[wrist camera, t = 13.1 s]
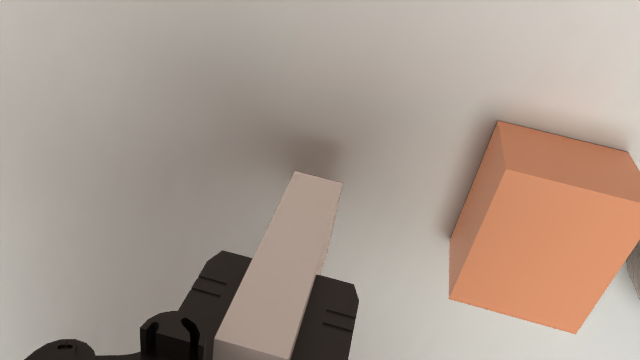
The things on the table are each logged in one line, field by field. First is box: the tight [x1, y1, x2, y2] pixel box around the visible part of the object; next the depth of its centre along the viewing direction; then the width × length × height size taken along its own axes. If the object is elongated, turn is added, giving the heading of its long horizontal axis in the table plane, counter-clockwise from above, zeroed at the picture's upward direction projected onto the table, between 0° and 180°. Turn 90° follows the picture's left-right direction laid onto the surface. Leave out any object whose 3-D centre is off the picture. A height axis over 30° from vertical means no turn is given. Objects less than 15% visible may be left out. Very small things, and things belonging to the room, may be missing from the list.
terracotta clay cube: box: [449, 121, 640, 334], centre depth 16 cm, size 4×5×3 cm
